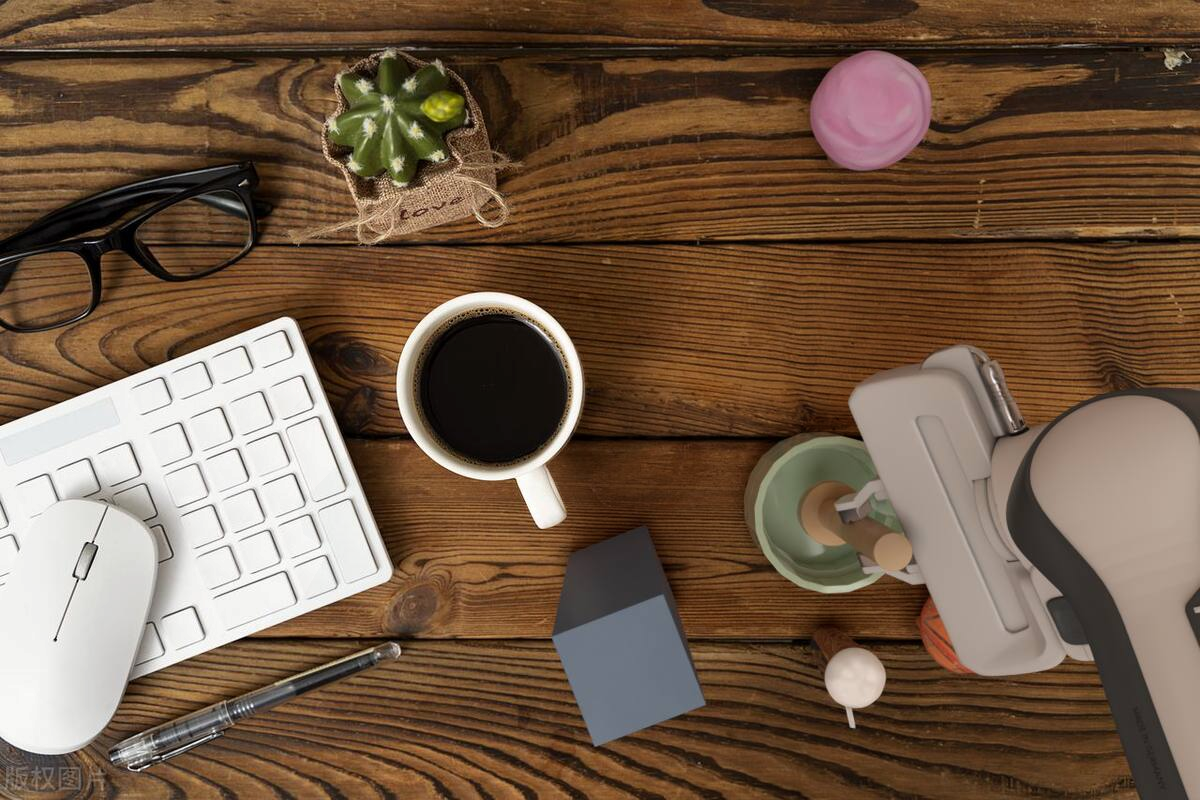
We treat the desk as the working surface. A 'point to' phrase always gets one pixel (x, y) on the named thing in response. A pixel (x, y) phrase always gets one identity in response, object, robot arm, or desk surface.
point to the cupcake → (870, 111)
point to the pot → (938, 639)
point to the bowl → (777, 501)
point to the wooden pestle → (850, 527)
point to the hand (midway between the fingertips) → (852, 535)
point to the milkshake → (847, 669)
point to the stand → (623, 638)
